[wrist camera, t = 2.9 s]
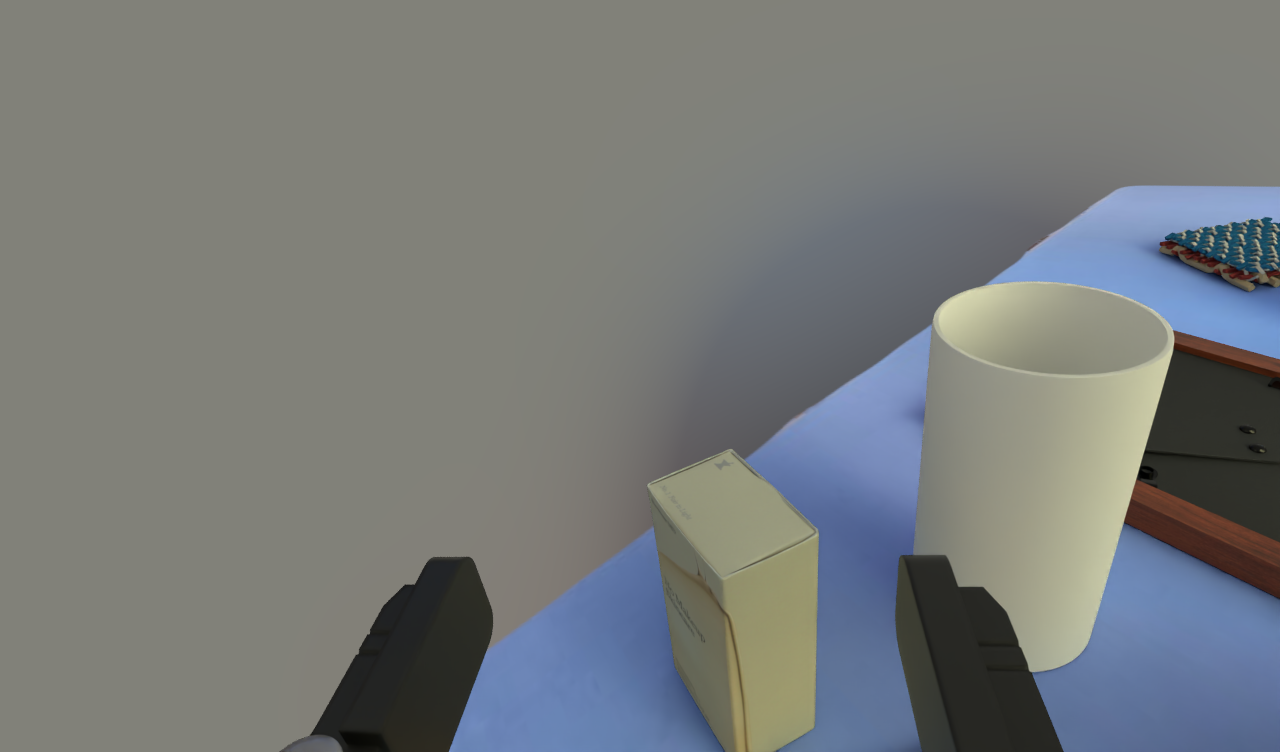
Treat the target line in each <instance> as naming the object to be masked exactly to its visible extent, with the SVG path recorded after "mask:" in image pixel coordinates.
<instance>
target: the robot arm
mask: <svg viewBox="0 0 1280 752" xmlns="http://www.w3.org/2000/svg"><path fill="white" fill-rule="evenodd" d="M895 621H896V634H897V641H898V647H899V652H900V656H901V661H902V665H903V670H904V674H905V678H906V683H907V687H908V692H909V696H910V700H911V705H912V709H913V714H914V718H915V722H916V727H917V731H918V736H919V740H920V744H921V749H922V752H1064V751H1063V749H1062V747H1061V744H1060V742H1059V739H1058V737H1057V734H1056V732H1055V729H1054V727H1053V724H1052V722H1051V720H1050V717H1049V715H1048V712H1047V710H1046V707H1045V705H1044V702H1043V700H1042V697H1041V695H1040V693H1039V690H1038V688H1037V685H1036V683H1035V680H1034V678H1033V675H1032V673H1031V672H1030V671H1029V668H1028V663H1027V661H1026V658H1025V656H1024V653H1023V651H1022V648H1021V647H1019V641H1018V638H1017V636H1016V634H1015V631H1014V629H1013V626H1012V624H1011V621H1010V619H1009V616H1008V614H1007V612H1006V611H1005V610H1004V609H1003V607H1002V606H1001V605H1000V604H999V603H998V602H997V601H996V600H995V599H994V598H993V597H992V596H991V595H990V594H989V592H988V591H987V590H986V589H985V588H984V587H958V584H957V582H956V579H955V576H954V573H953V570H952V567H951V564H950V562H949V559H948V558H947V556H946V555H901V556H900V558H899V566H898V581H897V596H896V611H895ZM492 629H493V614H492V609H491V606H490V603H489V600H488V598H487V595H486V592H485V589H484V587H483V584H482V582H481V579H480V576H479V573H478V571H477V568H476V565H475V563H474V561H473V559H472V558H470V557H433V558H431V559H430V560H429V561H428V562H427V563H426V565H425V567H424V568H423V570H422V572H421V574H420V576H419V578H418V580H417V582H416V583H415V585H404V586H403V587H402V588H401V589H400V590H399V591H398V592H397V593H396V594H395V595H394V596H393V597H392V598H391V599H390V600H389V601H388V602H387V603H386V604H385V605H384V606H383V608H382V609H381V612H380V613H379V615H378V617H377V618H376V620H375V622H374V624H373V626H372V628H371V629H370V634H369V635H367V636H366V638H365V640H364V642H363V643H362V645H361V647H360V649H359V654H358V655H356V656H355V658H354V659H353V661H352V663H351V665H350V667H349V668H348V670H347V672H346V674H345V676H344V677H343V679H342V681H341V683H340V684H339V686H338V688H337V690H336V691H335V693H334V695H333V697H332V699H331V700H330V702H329V704H328V706H327V707H326V710H325V711H324V713H323V715H322V717H321V718H320V720H319V722H318V724H317V725H316V727H315V729H314V730H313V732H312V733H311V735H310V736H308V737H304V738H302V739H299V740H297V741H295V742H293V743H292V744H290V745H288V746H287V747H286V748H284V749H283V750H281V751H280V752H449V749H450V747H451V744H452V741H453V739H454V736H455V733H456V731H457V728H458V725H459V723H460V720H461V717H462V715H463V712H464V709H465V707H466V704H467V701H468V699H469V696H470V693H471V691H472V688H473V685H474V683H475V680H476V677H477V675H478V672H479V669H480V667H481V664H482V661H483V659H484V656H485V653H486V651H487V648H488V645H489V643H490V639H491V635H492Z"/></svg>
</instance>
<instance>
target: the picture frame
mask: <svg viewBox="0 0 1280 752" xmlns="http://www.w3.org/2000/svg"><path fill="white" fill-rule="evenodd" d="M1173 332H1174V347H1173V353H1172V357H1171V360H1170V364H1169V367H1168V371H1167V374H1166V378H1165V381H1164V385H1163V388H1162V392H1161V395H1160V399H1159V402H1158V406H1157V409H1156V412H1155V416H1154V419H1153V423H1152V426H1151V430H1150V433H1149V437H1148V440H1147V443H1146V447H1145V450H1144V454H1143V457H1142V461H1141V464H1140V468H1139V471H1138V475H1137V478H1136V481H1135V485H1134V488H1133V492H1132V495H1131V499H1130V502H1129V506H1128V509H1127V512H1126V516H1125V519H1124V522H1125V523H1127V524H1129V525H1131V526H1133V527H1135V528H1137V529H1139V530H1141V531H1143V532H1145V533H1147V534H1149V535H1151V536H1153V537H1155V538H1157V539H1159V540H1161V541H1164V542H1166V543H1168V544H1170V545H1172V546H1174V547H1176V548H1178V549H1180V550H1182V551H1184V552H1186V553H1188V554H1190V555H1192V556H1194V557H1196V558H1198V559H1200V560H1202V561H1204V562H1206V563H1208V564H1210V565H1212V566H1214V567H1216V568H1218V569H1220V570H1223V571H1225V572H1227V573H1229V574H1231V575H1233V576H1235V577H1237V578H1239V579H1241V580H1243V581H1245V582H1247V583H1249V584H1251V585H1253V586H1255V587H1257V588H1259V589H1261V590H1263V591H1265V592H1267V593H1269V594H1271V595H1273V596H1275V597H1277V598H1279V599H1280V359H1276V358H1272V357H1269V356H1265V355H1261V354H1258V353H1254V352H1250V351H1247V350H1243V349H1240V348H1236V347H1232V346H1229V345H1225V344H1221V343H1218V342H1214V341H1210V340H1207V339H1203V338H1199V337H1196V336H1192V335H1188V334H1185V333H1181V332H1178V331H1174V330H1173Z"/></svg>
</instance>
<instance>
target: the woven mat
mask: <svg viewBox="0 0 1280 752" xmlns="http://www.w3.org/2000/svg"><path fill="white" fill-rule="evenodd" d="M1271 220H1272V218H1268V217H1265V218H1263V219H1261V220H1260V219H1257V220H1253V219H1251V220H1249V219H1248V220H1246V222H1242V223H1235V222H1230V223H1229V224H1227V225H1224V226H1221V225H1216V226H1215V227H1210V228H1208V227H1205V228H1203V227H1201V228H1200V229H1197V230H1195V231H1190V230H1184V232H1180V233H1177V234H1175V233H1171V234H1170V235H1168V236H1166V237H1165V239H1166V240H1170V241H1165V242H1160V246H1162V247H1160V249H1159V251H1160V252H1162V253H1165V254H1168V255H1172V256H1173V255H1176V256H1179V257H1180V259H1181V260H1182V261H1184V262H1185V263H1186V264H1188V265H1190V266H1193V267H1195V268H1197V269H1199V270H1202V271H1204V272H1206V273H1216V274H1218V275H1222V276H1223V278H1224V279H1225V280H1227V281H1228V282H1229V283H1231V284H1233V285H1235V286H1237V287H1239V288H1242V289H1244V290H1246V291H1248V292H1250V291H1252V290H1253V289H1255V287H1254V284H1252V283H1250V282H1248V281H1254V282H1256V283H1259V284H1262V283H1268V284H1270V285H1272V286H1274V287H1278V286H1280V223H1279V224H1278V223H1271V222H1268V221H1271ZM1242 224H1243V225H1242ZM1196 232H1197V233H1196ZM1181 234H1182V235H1181Z"/></svg>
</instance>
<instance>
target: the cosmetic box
mask: <svg viewBox="0 0 1280 752" xmlns="http://www.w3.org/2000/svg"><path fill="white" fill-rule="evenodd" d="M647 488H648V494H649V500H650V505H651V512H652V518H653V524H654V531H655V538H656V545H657V551H658V557H659V563H660V570H661V577H662V584H663V590H664V597H665V604H666V611H667V617H668V624H669V631H670V637H671V645H672V651H673V658H674V665H675V668H676V670H677V672H678V673H679V675H680V677H681V678H682V680H683V682H684V684H685V685H686V687H687V689H688V691H689V692H690V694H691V696H692V697H693V699H694V701H695V703H696V704H697V706H698V708H699V709H700V711H701V713H702V714H703V716H704V718H705V719H706V721H707V723H708V724H709V726H710V728H711V729H712V731H713V733H714V734H715V736H716V737H717V739H718V741H719V742H720V744H721V746H722V747H723V749H724V750H725V752H775V751H776V750H778V749H780V748H782V747H783V746H785V745H787V744H788V743H790V742H792V741H794V740H795V739H797V738H799V737H800V736H802V735H804V734H805V733H807V732H809V731H811V730H812V729H813V728H814V727H815V696H816V643H817V586H818V543H819V531H818V529H817V528H816V527H815V526H814V525H813V524H812V523H811V522H810V521H809V520H807V519H806V517H804V516H803V515H802V514H801V512H799V511H798V510H797V509H796V508H795V507H794V506H793V505H792V504H791V503H790V502H789V501H788V500H787V499H786V498H785V497H784V496H783V495H782V494H781V493H780V492H779V491H778V490H777V489H775V488H774V487H773V486H772V485H771V484H770V483H769V482H768V481H767V480H765V479H764V478H763V477H762V476H761V475H760V474H759V473H758V472H757V471H755V470H754V469H753V468H752V467H751V466H750V465H749V464H748V463H747V462H745V461H744V460H743V459H742V458H741V457H740V456H739V455H738V454H736V452H735V451H733V450H732V449H729V450H726V451H724V452H722V453H720V454H717V455H714V456H712V457H709V458H707V459H704V460H702V461H700V462H697V463H695V464H693V465H690V466H688V467H686V468H683V469H681V470H678V471H676V472H673V473H671V474H669V475H667V476H664V477H662V478H660V479H657V480H655V481H652V482H650V483H649V484H648V485H647Z"/></svg>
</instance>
